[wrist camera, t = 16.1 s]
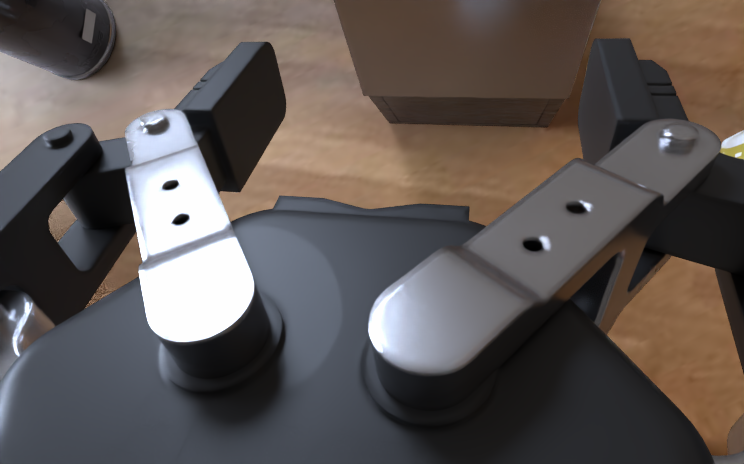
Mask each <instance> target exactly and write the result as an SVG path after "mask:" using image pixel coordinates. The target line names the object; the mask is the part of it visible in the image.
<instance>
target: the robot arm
mask: <svg viewBox="0 0 744 464" xmlns="http://www.w3.org/2000/svg"><path fill="white" fill-rule="evenodd" d="M115 37H116V26H115V20H114V17H113V14H112V12H111V10H110V8H109V6H108V5H107V4H106V3H105V2H104V1H103V0H0V52H2V53H4V54H7V55H9V56H12V57H14V58H17V59H20V60H22V61H25V62H27V63H30V64H32V65H35V66H37V67H40V68H42V69H45V70H47V71H50V72H52V73H54V74H55V75H58V76H60V77H63V78H66V79H71V80H78V79H83V78H87V77H89V76H91V75H93V74H94V73H96V72H97V71H98V70H99V69H100V68H101V67H102V66H103V65H104V64H105V63H106V61H107V60H108V58H109V56H110V55H111V52H112V50H113V47H114V43H115ZM285 113H286V98H285V93H284V89H283V85H282V80H281V76H280V72H279V68H278V64H277V60H276V56H275V52H274V49H273V47H272V45H271V44H270V43H269V42H241V43H240V44H239V45H238V46H237V47H236V48H235V49H234V50H233V51H232V53H231V54H230V55H229V56H228V57H227V58H226V59H225V61H223V62H221V63H220V64H218V65H216V66H215V67H213V68H211V69H210V70H209V71H208V72H207V73H206V74H205V75H204V76H203V77H202V78H201V80H200V82H198V83H197V84H196V85H195V86H194V87H193V90H191V91H190V92H189V93H188V94H187V95H186V96H185V97H184V99H183V100H182V101H181V102H180V103H179V104H178V105H177V106H176V107H175V109H163V110H157V111H153V112H150V113H147V114H145V115H142V116H140V117H139V118H137V119H135V120H134V121H133V122H131V123H130V124H129V125H128V127H127V128H126V131H125V136H126V137H124V138H118V139H112V140H106V141H100V142H99V141H98V139H97V138H96V136H95V134H94V132H93V130H92V129H91V127H90V126H88V125H86V124H82V123H74V124H67V125H62V126H59V127H56V128H54V129H51V130H49V131H47V132H45V133H43V134H41V135H40V136H39V137H37V138H36V139H35V140H34V141H33V142H31V143H30V144H29V145H28V146H27V147H26V148H25V149H24V150H23V151H22V152H21V153H20V154H19V155H18V156H16V157H15V158H14V159H13V160H12V161H11V162H10V163H9V164H8V165H7V166H6V167H5V168H4V169H2V170H1V171H0V464H744V413H743V415H742V416H741V417H740V418H739V419H738V420H737V421H736V422H735V424H734V425H733V426H732V427H731V429H730V431H729V433H728V439H727V448H728V455H727V456H714V455H711V453H710V451H709V450H708V448H707V446H706V444H705V442H704V440H703V439H702V437H701V435H700V434H699V432H698V431H697V430H696V428H695V427H694V426H693V424H692V423H691V422H690V421H689V419H688V418H687V417H686V416H685V415H684V414H683V413H682V412H681V410H680V409H679V408H678V407H677V406H676V405H675V404H674V403H673V402H672V401H671V400H670V399H669V398H668V397H667V396H666V395H665V394H664V393H663V392H662V391H661V390H660V389H659V388H658V387H657V386H656V385H655V384H654V383H653V382H652V381H651V380H650V379H649V378H648V377H647V376H646V375H645V374H644V373H643V372H642V371H641V370H640V369H639V368H638V367H637V366H636V365H635V364H634V363H633V362H632V361H631V360H630V359H629V357H628V356H627V355H626V354H625V353H624V352H623V351H622V350H621V349H620V348H619V347H618V346H617V345H616V344H615V343H614V342H613V341H612V340H611V339H610V338H609V337H608V336H607V333H608V332H609V330H610V329H611V327H612V326H613V324H614V322H615V321H616V319H617V317H618V316H619V314H620V313H621V311H622V310H623V309H624V308H625V306H626V305H627V304H628V303H629V302H630V301H631V300H632V299H633V298H634V297H635V296H636V294H637V293H638V292H639V291H640V290H641V289H642V288H643V287H644V286H645V285H646V284H647V283H648V282H649V280H650V279H651V278H652V277H653V276H654V275H655V274H656V273H657V272H658V271H659V270H660V269H661V268H662V266H663V265H664V264H665V263H666V262H667V261H668V260H669V259H670V257H671V256H675V257H679V258H682V259H686V260H689V261H692V262H696V263H699V264H703V265H706V266H710V267H713V268H715V272H716V276H717V280H718V283H719V287H720V291H721V294H722V298H723V301H724V305H725V308H726V312H727V316H728V319H729V323H730V326H731V330H732V334H733V337H734V341H735V344H736V348H737V351H738V355H739V359H740V362H741V366H742V369H743V373H744V159H740V158H735V157H731V156H728V155H725V154H722V153H720V149H721V142H720V139H719V138H718V136H717V135H716V134H715V133H713V132H712V131H711V130H709V129H708V128H706V127H704V126H702V125H699V124H696V123H693V122H690V121H688V118H687V116H686V114H685V111H684V109H683V107H682V105H681V102H680V100H679V98H678V96H676V91H675V89H674V87H673V86H672V82H671V80H670V78H669V75H668V73H667V71H666V70H665V69H663V68H662V67H661V66H659V65H658V64H656V63H655V62H654V61H652V60H638V58H637V56H636V53H635V50H634V47H633V45H632V42H631V40H630V39H629V38H615V39H595V40H594V41H593V44H592V47H591V51H590V56H589V60H588V65H587V70H586V75H585V79H584V84H583V89H582V94H581V98H580V104H579V112H578V128H579V134H580V140H581V147H582V153H583V159H584V160H583V159H581V158H575V159H573V160H572V161H570V162H569V163H567V164H566V165H565V166H564V167H562V168H561V169H560V170H558V171H557V172H556V173H555V174H553V175H552V176H551V177H549V178H548V179H547V180H546V181H544V182H543V183H542V184H540V185H539V186H538V187H537V188H535V189H534V190H533V191H531V192H530V193H529V194H528V195H526V196H525V197H524V198H522V199H521V200H520V201H519V202H517V203H516V204H515V205H513V206H512V207H511V208H510V209H508V210H507V211H506V212H504V213H503V214H502V215H501V216H499V217H498V218H497V219H496V220H494V221H493V222H492V223H490V224H489V225H488V226H484V225H481V224H479V223H476V222H472V221H469V206H452V205H435V204H413V205H404V206H395V207H387V208H378V209H364V208H360V207H356V206H352V205H348V204H344V203H340V202H336V201H333V200H329V199H325V198H312V197H294V196H279V198H278V200H277V202H276V204H275V206H274V208H273V209H268V210H263V211H259V212H255V213H252V214H248V215H246V216H243V217H240V218H238V219H236V220H234V221H232V222H230V221H229V219H228V216H227V214H226V211H225V209H224V207H223V204H222V202H221V199H220V197H219V195H218V194H219V192H220V191H228V192H241V190H242V188H243V187H244V185H245V183H246V182H247V180H248V178H249V176H250V175H251V173H252V171H253V170H254V168H255V166H256V165H257V163H258V161H259V160H260V158H261V156H262V155H263V153H264V151H265V149H266V148H267V146H268V144H269V143H270V141H271V139H272V138H273V136H274V134H275V133H276V131H277V129H278V128H279V126H280V124H281V122H282V121H283V119H284V117H285ZM62 199H63V200H64V201H65V202H66V204H67V205H68V207H69V208H70V210H71V211H72V213H73V214H74V215H75V217H76V218H77V220H76V221H75V222H74V223H73V225H72V226H71V227H70V228H69V229H68V231H67V232H66V233H65V234H64V236H63V237H62V238H61V239H60V241H59V242H57V241H56V240H55V239H54V237H53V236H52V234H51V233H50V231H49V227H48V220H49V216H50V214H51V212H52V211H53V210H54V208H55V207H56V206H57V205H58V204H59V203H60V202H61V200H62ZM136 231H137V235H138V240H139V245H140V250H141V255H142V264H140V265H139V277H137V278H136V279H134V280H132V281H131V282H129V283H127V284H126V285H124V286H122V287H121V288H119V289H117V290H116V291H114V292H112V293H111V294H109V295H107V296H106V297H104V298H102V299H101V300H99V301H97V302H96V303H94V304H92V305H91V306H89V307H87V308H86V309H84V308H85V307H86V305H87V304H88V302H89V301H90V299H91V298H92V296H93V295H94V294H95V292H96V291H97V289H98V288H99V286H100V285H101V283H102V282H103V280H104V279H105V277H106V276H107V274H108V273H109V271H110V270H111V268H112V267H113V265H114V264H115V262H116V261H117V259H118V258H119V256H120V255H121V253H122V252H123V250H124V249H125V247H126V246H127V244H128V243H129V241H130V240H131V238H132V237H133V235H134V234H135V232H136Z"/></svg>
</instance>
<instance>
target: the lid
mask: <svg viewBox="0 0 744 464" xmlns="http://www.w3.org/2000/svg"><path fill="white" fill-rule="evenodd" d="M600 2H601V0H334V3H335V7H336V10H337V13H338V16H339V19H340V22H341V26H342V29H343V32H344V35H345V38H346V42H347V45H348V48H349V51H350V54H351V57H352V61H353V64H354V67H355V70H356V73H357V76H358V80H359V83H360V86H361V89H362V92H363V95H364V96H409V97H473V98H537V99H569V97H570V94H571V91H572V88H573V84H574V81H575V78H576V75H577V72H578V69H579V66H580V63H581V60H582V57H583V54H584V51H585V48H586V45H587V42H588V39H589V36H590V32H591V29H592V26H593V23H594V20H595V17H596V14H597V11H598V8H599V5H600Z"/></svg>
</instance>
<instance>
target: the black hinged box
mask: <svg viewBox="0 0 744 464" xmlns="http://www.w3.org/2000/svg"><path fill="white" fill-rule="evenodd" d="M369 97H370V99H371V100H372V101H373V103H374V104H375V105H376V106H377V108H378V109H379V110H380V112H381V113H382V114H383V116H384V117H385V118H386V119H387V121H388V122H389V123H397V124H435V125H472V126H509V127H546V128H547V127H548V125H549V124H550V122H551V121H552V119H553V118H554V116H555V114H556V113H557V111H558V110H559V108H560V106H561V105H562V103H563V102H564V100H565V99H537V98H473V97H409V96H369Z"/></svg>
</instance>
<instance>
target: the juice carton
mask: <svg viewBox="0 0 744 464" xmlns="http://www.w3.org/2000/svg"><path fill="white" fill-rule="evenodd" d="M720 153H722V154H725V155H728V156H731V157H735V158H740V159H744V130H743V131H741V132H739V133H737V134H735V135H733V136H731V137H729V138H727V139H725V140H724V141H723V143H722V145H721V150H720Z"/></svg>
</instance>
